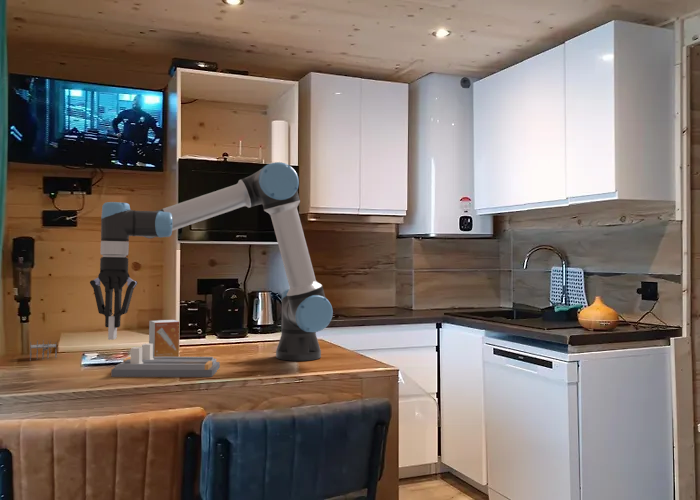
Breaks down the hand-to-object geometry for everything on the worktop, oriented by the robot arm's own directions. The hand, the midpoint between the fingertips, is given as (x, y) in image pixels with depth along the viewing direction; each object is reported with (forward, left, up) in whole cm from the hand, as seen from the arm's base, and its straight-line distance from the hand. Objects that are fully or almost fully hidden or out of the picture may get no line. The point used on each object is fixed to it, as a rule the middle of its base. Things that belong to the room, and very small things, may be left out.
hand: (112, 338), depth 177 cm
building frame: (+31, -26, -11) cm, 42 cm away
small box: (-9, -23, -11) cm, 26 cm away
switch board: (-15, -4, -10) cm, 18 cm away
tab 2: (-8, -7, -8) cm, 13 cm away
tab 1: (-7, 0, -8) cm, 10 cm away
